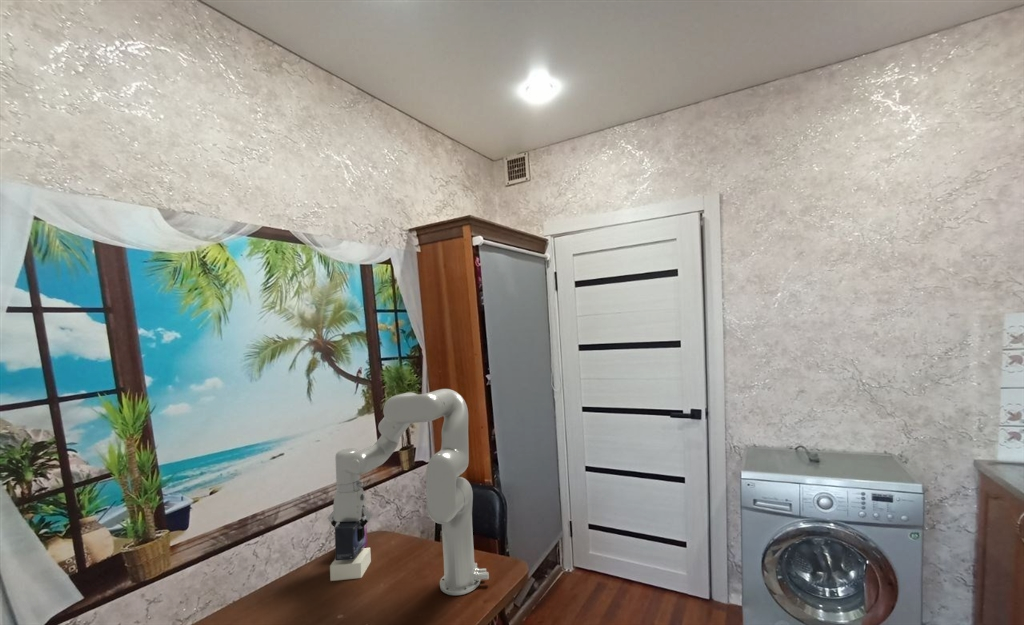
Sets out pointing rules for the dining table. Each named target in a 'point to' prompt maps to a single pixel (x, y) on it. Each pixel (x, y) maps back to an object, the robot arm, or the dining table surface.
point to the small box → (347, 541)
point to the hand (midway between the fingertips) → (350, 539)
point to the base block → (351, 566)
